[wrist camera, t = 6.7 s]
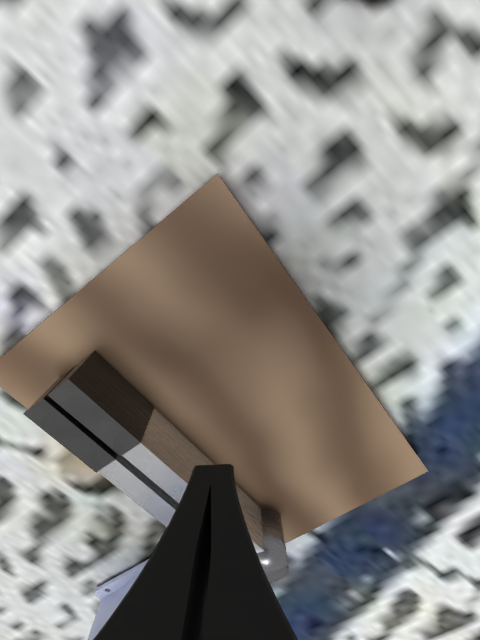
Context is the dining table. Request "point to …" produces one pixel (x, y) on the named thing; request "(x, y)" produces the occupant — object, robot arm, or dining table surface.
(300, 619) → the dining table surface
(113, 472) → the fixed tong arm
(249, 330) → the walnut board
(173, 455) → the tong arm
